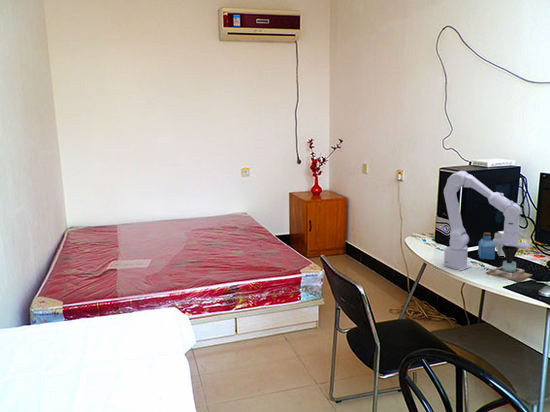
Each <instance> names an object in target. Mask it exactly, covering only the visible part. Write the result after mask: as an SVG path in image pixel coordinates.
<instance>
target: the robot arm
mask: <svg viewBox="0 0 550 412" xmlns="http://www.w3.org/2000/svg"><path fill="white" fill-rule="evenodd" d="M462 187H463V188H471V189H473V190H475V191H477V192H478V193H480V194H481V195H482V196H483V197H485V198H487V200H488V203H489V205H491V206H493V207H494V208H495V209H497V210H498V211H500V213H501V212H502V214H503V216H504V222H503V231H504V236H503V239H494V238H493V239H492V241H493V244H500V245H503V247H502V250H503V252H504V254H505V257H504V258H505V261H507V263H512V262H513V261H514V258H515V256H516V254H517V252H518V250H525V251H529V250H530V248H531V247H530V246H531V245H530V244H526V243H523V242H520V239H519V238H520V237H519V236H520V215H521V213H522V208H521V206H520V204H519V203H517V202H514V201H513V200H510V199H509V198H507V197H505V196H504V193H503V192H498V191H496V192H495V191H494V192H493V190H491V189H490V188H488V186H486V185H485V184H484V183H482V182H481V181H480V180H479V179H477V178H476V177H475V176H473V174H470V173H468V172H467V171H465V170H459V171H457V172H455V173H452V174H451V175H450V176H449V177H447V180H446V184H445V186H444V188H443V196H444V200H445V201H444V202H445V204H446V205H445V206H446V211H447V216H448V221H449V222H448V223H449V225H450V231H449V232H450V233H449V238H450V239H449V246H446V247H445V250H444V253H443V259H444V260H443V261H444V262H443V265H442V266H443V267H446V268H451V269H454V270H458V271H464V270H466V269H468V268H471V267H472V265H470V264H468V254H469V253H468V249H469V248H468V245H467V244H469V242H470V237H469V235H468V234H467V231H466V229H465V228H464V225H463V219H462V215H461V211H460V206H459V200H458V197H457V196H458V195H457V192H459V190H460V189H461V188H462Z"/></svg>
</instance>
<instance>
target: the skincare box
mask: <svg viewBox="0 0 550 412" xmlns="http://www.w3.org/2000/svg"><path fill="white" fill-rule="evenodd" d="M497 233H498V239H503V236H504V230H500V231H497ZM502 247H503V245H500V244H498V248H497V249H496V250H497V251H496V252H497V254H498V255H497V256H498V257H500V256H504V257H503V258H506V257H505V254H504V252H503V250H502Z"/></svg>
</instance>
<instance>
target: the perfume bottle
mask: <svg viewBox="0 0 550 412" xmlns="http://www.w3.org/2000/svg"><path fill="white" fill-rule="evenodd" d="M491 234H492V233H491V232H483V235H482V236H483V237H482V238H481V239H480V240H479V242H478V245H477V246H478V247H477V255H479V256H478V257H479V259H480V260H495V258H496V247H495V245H494V244H493V239H491V238H492V236H491Z"/></svg>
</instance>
